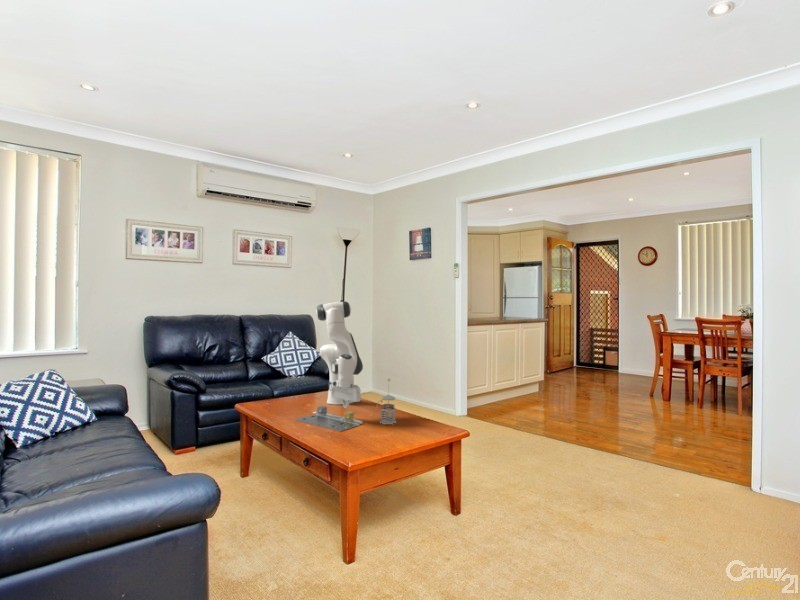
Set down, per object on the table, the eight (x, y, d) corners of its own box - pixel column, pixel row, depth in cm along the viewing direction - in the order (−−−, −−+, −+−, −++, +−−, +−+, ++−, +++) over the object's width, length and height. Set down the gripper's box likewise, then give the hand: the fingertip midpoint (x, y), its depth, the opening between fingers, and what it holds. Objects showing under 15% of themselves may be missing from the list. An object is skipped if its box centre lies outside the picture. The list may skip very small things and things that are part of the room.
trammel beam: (321, 413, 279) (321, 405, 279) (363, 423, 258) (363, 414, 258) (309, 416, 271) (309, 408, 271) (352, 427, 251) (352, 418, 251)
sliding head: (348, 417, 265) (349, 411, 265) (354, 418, 262) (354, 412, 262) (337, 420, 258) (337, 414, 258) (343, 421, 255) (343, 415, 255)
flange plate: (313, 415, 275) (313, 414, 275) (358, 425, 254) (358, 424, 254) (295, 419, 264) (295, 418, 264) (340, 431, 242) (340, 430, 242)
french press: (394, 425, 256) (395, 380, 256) (374, 423, 258) (375, 379, 258) (398, 420, 266) (399, 377, 266) (378, 419, 268) (379, 376, 268)
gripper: (363, 384, 261) (363, 409, 261) (337, 380, 273) (337, 403, 273) (355, 386, 256) (355, 411, 256) (329, 381, 268) (329, 405, 268)
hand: (345, 407), depth 265 cm, fingers closed
